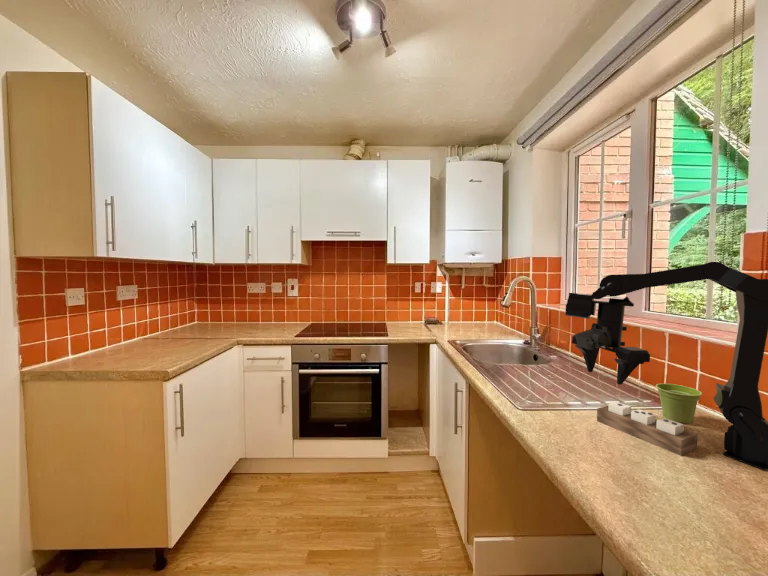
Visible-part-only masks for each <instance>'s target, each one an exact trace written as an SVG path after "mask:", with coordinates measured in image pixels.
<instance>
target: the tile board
mask: <svg viewBox="0 0 768 576" xmlns="http://www.w3.org/2000/svg"><path fill="white" fill-rule="evenodd" d="M596 412H597V413H596V421H597V422H599V423H602V424H604V425H606V426H609V427H611V428H612V429H613V428H614V429H616V430H618V431H620V432H623V433H625V434H628V435H631V436H632V437H636V438H638V439H640V440H642V441H645V442H647V443H650V444H652V445H654V446H656V447H659V448H661V449H664V450H667V451H669V452H671V453H674V454H676V455H679V456H681V457H682V456H683V455H686V454H689V453H691V452H693V451H696V450H698V446H699V445H698V444H699V443H698V441H699V440H698V439H699V434H698V433H696V432H692V431H690V430H687V429H685V428H684V430H683V433H682V434H679V435H677V436H675V435H673V434H670V433H667V432H665V431H662V430H659V429H656V424H657V420H658V419H656V423H654V424H650V425H646V424H643V423H640V422H638V421H635V420H632V419H631V414H629V415H626V416H622V415H619V414H616V413H613V412H611V411H608V405H605V406H603V407H598V408H597V409H596Z"/></svg>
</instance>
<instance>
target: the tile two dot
mask: <svg viewBox="0 0 768 576" xmlns="http://www.w3.org/2000/svg"><path fill="white" fill-rule="evenodd" d="M656 420H657V424H656V429H659V430H662V431H665V432H667V433H670V434H673V435H675V436H677V435H679V434H682V433H683V430H684V429H685V427H684V426H685V425H684V424H685V423H684V424H683V423H682V422H680V423H678V422H675V421H672V420H669V419H666V418H665V417H663V418H661V419H656Z"/></svg>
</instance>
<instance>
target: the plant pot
mask: <svg viewBox="0 0 768 576" xmlns="http://www.w3.org/2000/svg"><path fill="white" fill-rule="evenodd" d="M655 387H656V389H657V393H658V394H659V399H660V406H661V411H662V416H663V418H666V419H669V420H672V421H675V422H678V423H684V424H687V425H689V424H692V423H693V422H694V418H695V414H696V409H697V404H698V401H699V400H700V398H701V396H702V395H703V392H702V391H700V390H698V389H696V388H693V387H689V386H686V385H680V384H674V383H657V384H655Z"/></svg>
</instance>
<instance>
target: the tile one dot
mask: <svg viewBox="0 0 768 576" xmlns="http://www.w3.org/2000/svg"><path fill="white" fill-rule="evenodd" d="M607 406H608V411H611V412H613V413H616V414H619V415H622V416H626V415H629V414H631V411H632V406H631V405H628V404H624V403H622V402H618V401H614V402H609V403H608V405H607Z"/></svg>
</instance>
